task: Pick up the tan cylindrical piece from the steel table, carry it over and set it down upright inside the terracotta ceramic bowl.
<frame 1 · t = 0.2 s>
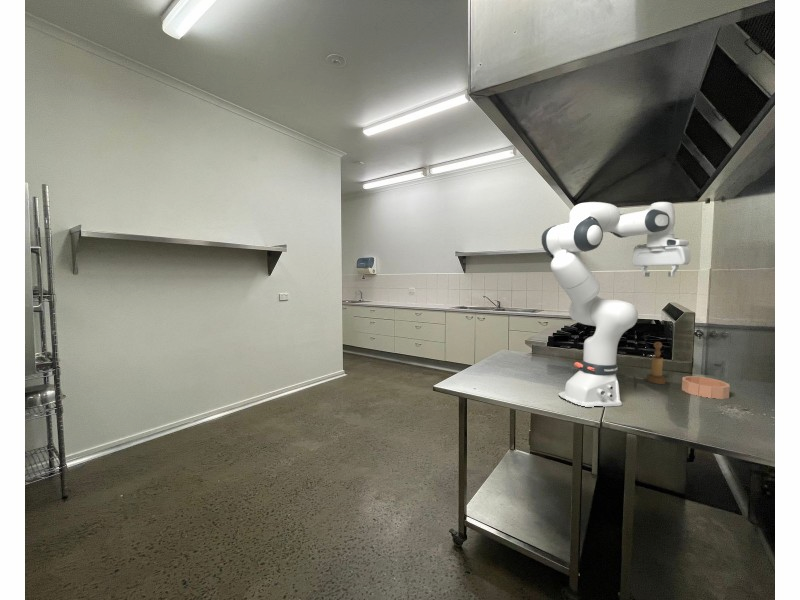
hand: (658, 276, 137), 47 cm above the table, tool pointing down, fingers open, 8 cm apart
tan cylindrical piece: (656, 382, 148), on the table
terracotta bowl: (704, 392, 134), on the table
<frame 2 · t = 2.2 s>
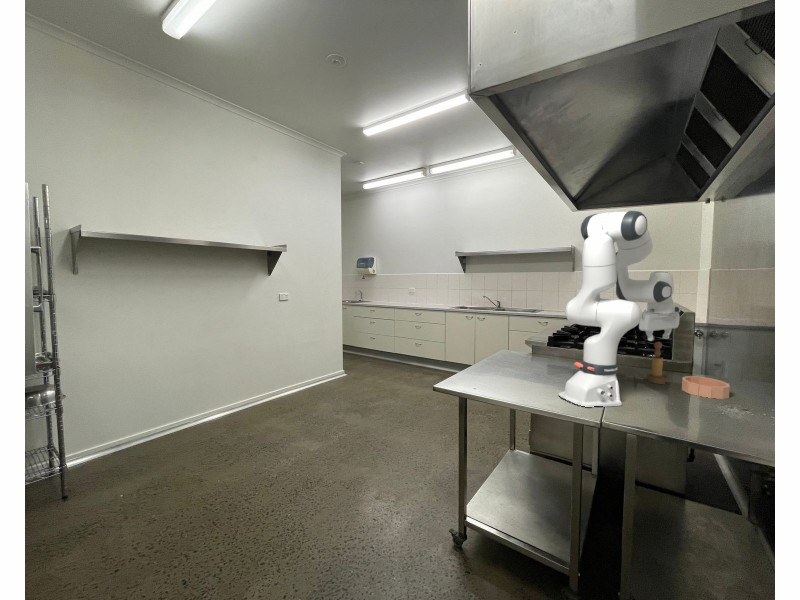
hand: (658, 339, 147), 19 cm above the table, tool pointing down, fingers open, 8 cm apart
nothing on the table moved.
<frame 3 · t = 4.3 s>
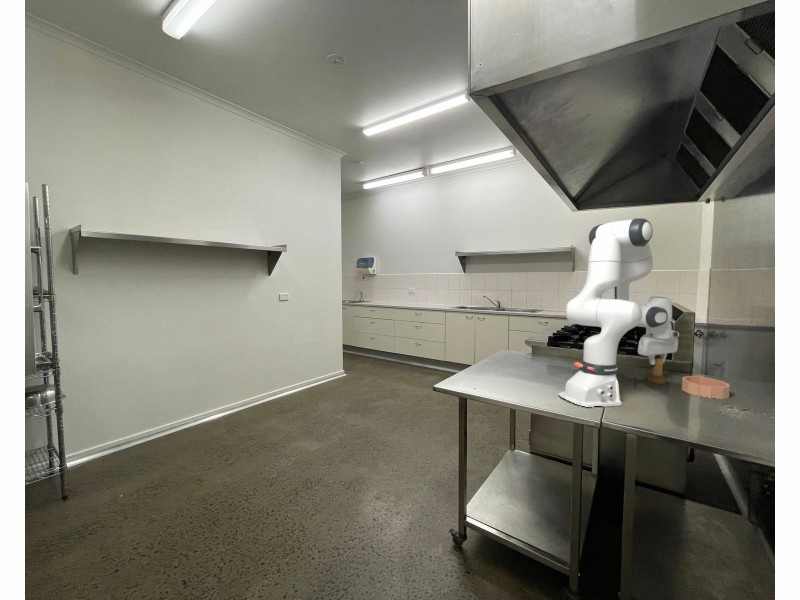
hand: (657, 363, 148), 8 cm above the table, tool pointing down, fingers closed on tan cylindrical piece, 4 cm apart
tan cylindrical piece: (656, 382, 148), on the table, touching gripper
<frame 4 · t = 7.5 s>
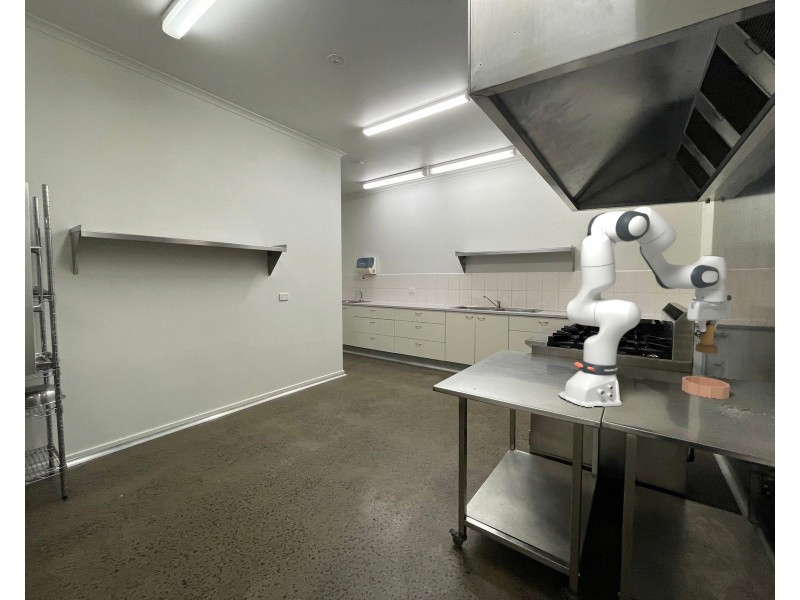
hand: (707, 331, 133), 25 cm above the table, tool pointing down, fingers closed on tan cylindrical piece, 4 cm apart
tan cylindrical piece: (706, 352, 133), point 17 cm above the table, touching gripper
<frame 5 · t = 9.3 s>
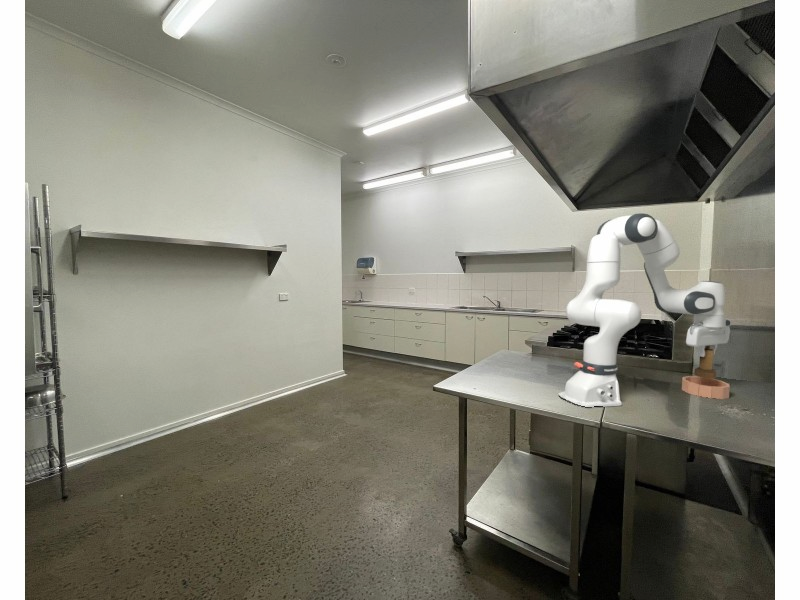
hand: (706, 355, 133), 15 cm above the table, tool pointing down, fingers closed on tan cylindrical piece, 4 cm apart
tan cylindrical piece: (705, 376, 134), point 6 cm above the table, touching gripper
when the fingers open (11 cm above the table, at t = 11.0 s): tan cylindrical piece stays where it is, resting on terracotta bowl.
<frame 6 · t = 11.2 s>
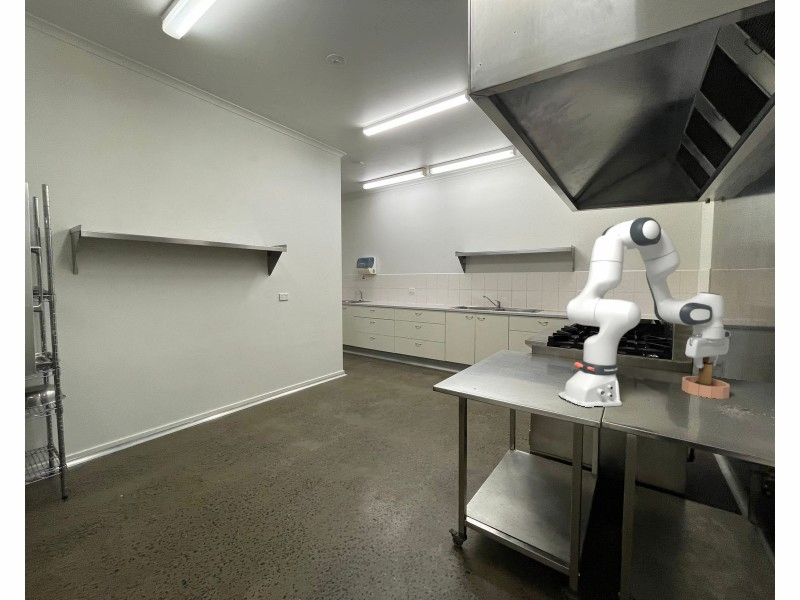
hand: (705, 366, 134), 11 cm above the table, tool pointing down, fingers open, 6 cm apart
tan cylindrical piece: (704, 390, 134), point 1 cm above the table, touching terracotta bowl
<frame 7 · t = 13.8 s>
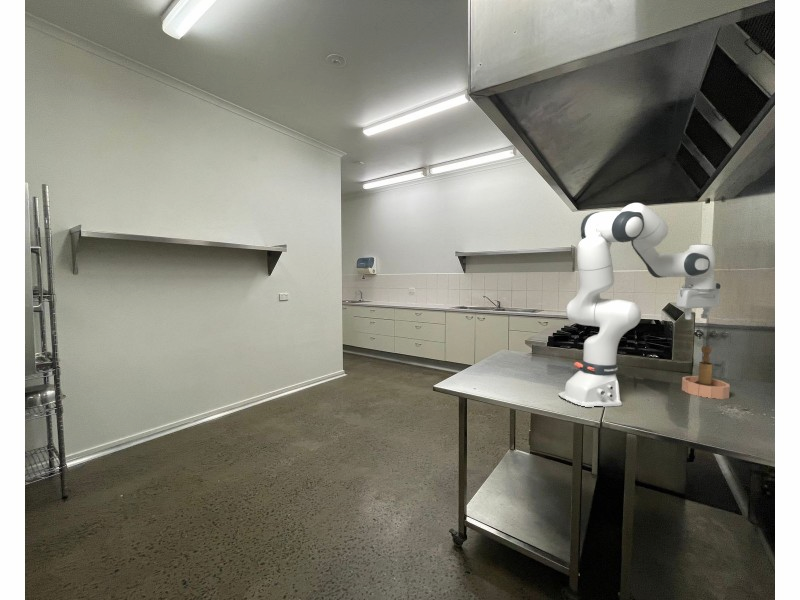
hand: (696, 318, 135), 30 cm above the table, tool pointing down, fingers open, 8 cm apart
nothing on the table moved.
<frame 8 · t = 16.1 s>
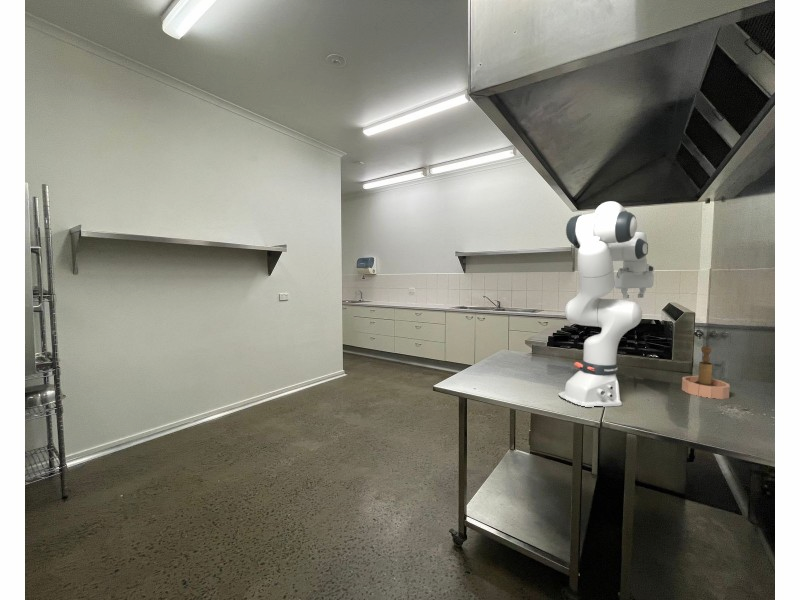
hand: (633, 298, 153), 37 cm above the table, tool pointing down, fingers open, 8 cm apart
nothing on the table moved.
at the end: tan cylindrical piece 0.2 cm off-centre on the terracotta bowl, point 0.8 cm above the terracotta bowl's base; tan cylindrical piece tilted 0°; the gripper is holding nothing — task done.
